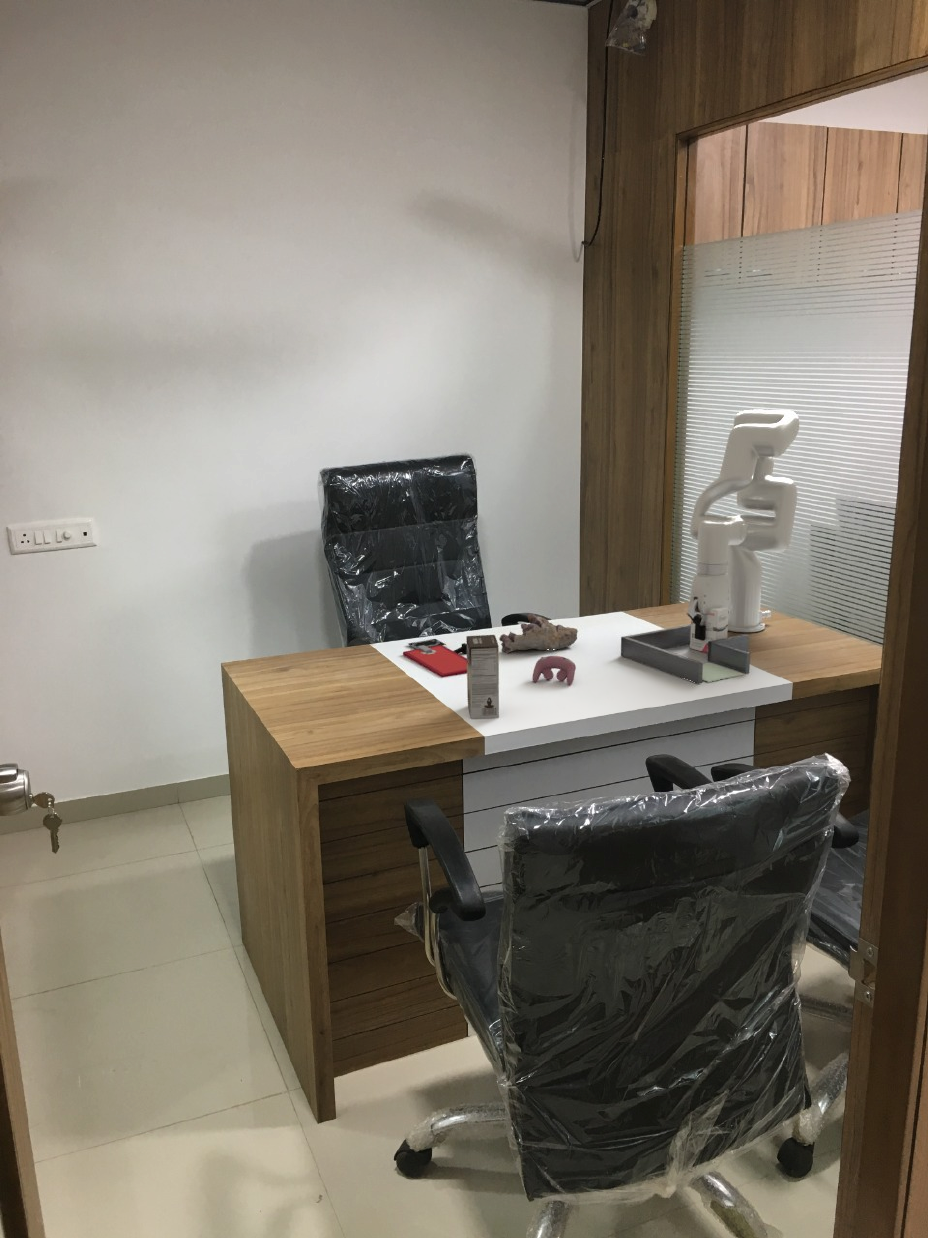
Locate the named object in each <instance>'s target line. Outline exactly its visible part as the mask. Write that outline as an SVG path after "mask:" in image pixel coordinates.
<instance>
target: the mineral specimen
mask: <svg viewBox="0 0 928 1238" xmlns="http://www.w3.org/2000/svg"><path fill="white" fill-rule="evenodd" d="M527 619H528V622H530V623H528V624H527V623H520V628H521V629H522V630H521V631H522V634H516V632H515V633H514V632H512V631H510V632H509V633H508V635H507V634H505V633H502V634H501V635H500V637H499V638H498V639H499V641H500V642H501V644H500V646H501V651H500V652H502V653H505V654H509V653H510V652H513V651H516V649H518V650H520V651H526V650H530V649H535V650H539V651H547V650H546V649H549V650H548V651H554V650H553V649H558V650H561V649H562V648H566V647H570V646H572V645H573V644H575V642H576V641H577V640H578V632H579V631H578V629H577V628H574V627H569V626H566V627H565V626H563V625H561V624H557V625H555V624H553V623H552V622H549V620H548V619H546V618H545V617H542V616H536V615H535V614H534V613H532V614H531V613H530V614H527Z"/></svg>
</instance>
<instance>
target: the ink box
mask: <svg viewBox="0 0 928 1238" xmlns="http://www.w3.org/2000/svg"><path fill="white" fill-rule="evenodd" d="M695 613H696V612H695ZM699 618H701V615H700V617H699ZM690 624H691V637H690V644H689V648H690V649H692V650H695V651H698V652H699V651H700V652H702V653H703V652H704V653H706V654H708V641H713V640H718V639H723V638H728V608H725V607H721V608H713V609H710V613H709V614H707V615H706V619H705V622H704V625H705V626H706V631H705V640H704V641H702V640H699V639H695V624H694V623H693V621H692V620H691V619H690Z"/></svg>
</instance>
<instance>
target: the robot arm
mask: <svg viewBox="0 0 928 1238" xmlns="http://www.w3.org/2000/svg"><path fill="white" fill-rule="evenodd" d="M799 431H800V419H799V416H798V415H797V414H796V412H794V411H791V410H777V409H776V410H771V409H770V410H769V409H766V410H765V409H753V410H752V409H750V410H743V411H740V412H739V413H737V414H736V415H735V417H734V419H733V428H732V429H731V430H730V432H729V435H728V437H727V438H728V439H727V443H726V445H725V449H724V450H725V451H724V455H723V458H722V459H723V460H722V462H721V463H722V464H721V468H720V471H719V472H720V473H719V475H718V477H717V478H716V479H715V480H713V481H712V482H711V483H710V484H709V485H708V486H707V487H706V488H705V489H704V490H703V491H702V492H701V493H700V494H699V496H698V498H697V500H696V502H695V504H694V508H693V510H692V511H693V512H692V515H691V519H690V526H689V534H690V537H691V539H692V540H693V541H694V542H695V543H697V549H696V550H697V553H696V554H697V555H696V556H697V557H696V574H693V578H692V583H691V587H690V591H689V592H690V593H689V605H688V607H689V608H688V609H687V611H686V615H687V616H688V617H689V618H690V621H691V620H692V621H693V623H694V624H695V639H699V640H702V641H704V640H705V631H706V626H705V625H704V622H705V619H706V615H707V614H709V613H710V609H713V608H721V607H725V608H728V631H729V632H736V633H755V632H761V631H763V630H765V628H766V624H765V623H764V622H763V619H765V618H766V619H768V618H771V616H772V611H771V610H764V611H763V610H761V598H762V581H763V580H762V579H763V564H762V561H761V559H760V557H759V556H758V554H757V553H756V552H766V553H767V552H768V553H784V552H785V551H786V550H787V549H788V548H789V546H790V543H791V540H792V535H793V528H794V522H795V518H796V517H795V515H796V509H797V502H798V489H797V488H798V487H797V485H796V482H794V480H793V479H791V478H787V477H775V476H774V477H773V474H774V473H773V472H774V466H775V459H774V458H778V457H780V456H782V455H784V453H785V452H786V450H787V449H789V447H790V446H791V445H792V443H793V442H794V441H795V440H796V438H797V436H798V433H799ZM732 494H736V505H737V507H738V508H739V509H741V510H744V511H748V512H756V513H757V512H759V513H772V514H774V515H775V516H764V515H754V514H753V515H752V514H737V515H734V516H729V515H720V514H708V513H709V511H710V509H711V508H712V506H713V505H714V504H715V503H716V502H718V501H719V500H721V499H724V498H726V497H728V496H730V495H732ZM695 612H696V613H695ZM700 615H701V618H699V617H700ZM728 631H727V632H728Z"/></svg>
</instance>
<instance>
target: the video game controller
mask: <svg viewBox="0 0 928 1238" xmlns="http://www.w3.org/2000/svg"><path fill="white" fill-rule="evenodd" d="M553 669H557V670H558V671H557V673H556V676H555V677H556V679H557V680H558V681H560V682H564V681H566V684H567V685H568V686H571V685H572V684H573V681H574V680H575V679H574V678H575V674H576V673H575V672H576V669H577V665H576V664H575V662H574V661H572V660H571V659H569V658H566V657H564V656H559V655H548V656H542V657H540V659H538V660H537V661H536V663H535V666H534V668H533V672H532V682H533V683H537V682H539V681H538V680H540V678H541V675H542V676H543V677H544V678H545V680H547V681H549V680H552V679H553V678H554V672H553Z"/></svg>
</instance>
